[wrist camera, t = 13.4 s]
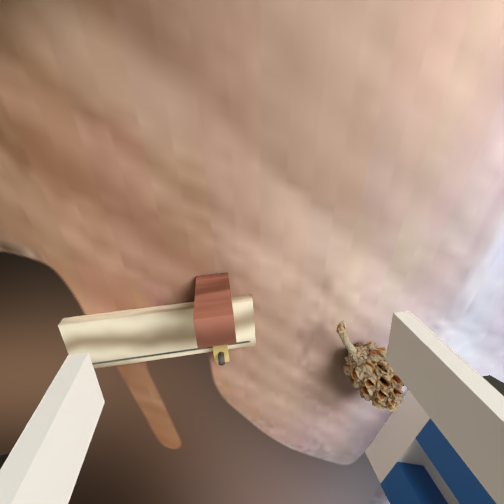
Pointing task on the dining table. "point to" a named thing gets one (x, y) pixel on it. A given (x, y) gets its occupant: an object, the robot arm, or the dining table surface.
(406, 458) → the toy block
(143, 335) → the board
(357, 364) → the pine cone
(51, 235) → the dining table surface
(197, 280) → the block
